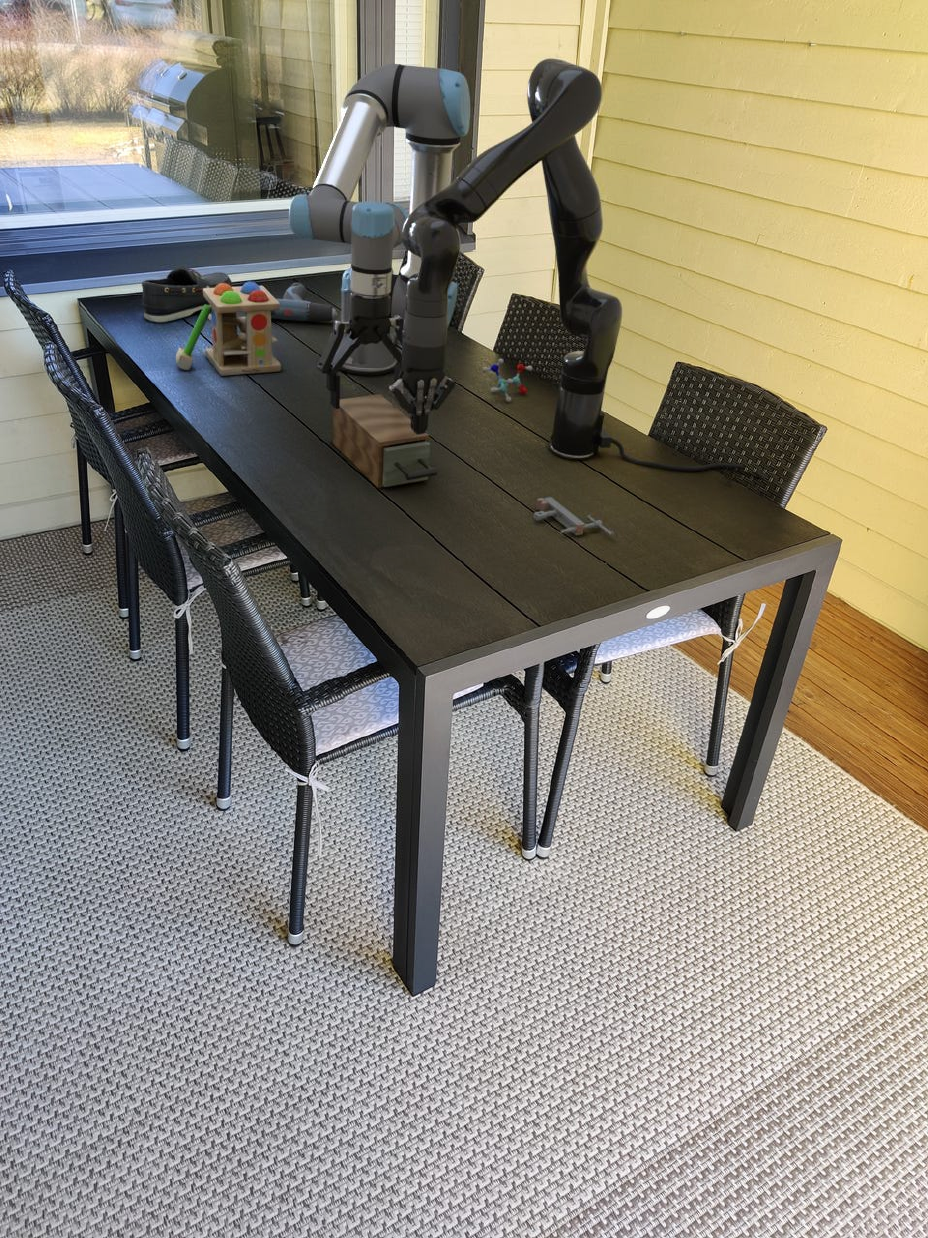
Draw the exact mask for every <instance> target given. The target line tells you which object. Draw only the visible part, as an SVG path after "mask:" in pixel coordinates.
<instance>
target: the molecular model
mask: <svg viewBox="0 0 928 1238" xmlns="http://www.w3.org/2000/svg"><path fill="white" fill-rule="evenodd" d="M502 364H504V359H503V358H499V359H498V360H497V363H496V364H492V365H491V367H487V366H483V367H482V372H484V373H487V372H488V371H491V372H493V373H495V375H496V377H497V379H498V381H497V385H496V386H494V387H491V388H490V390H489V392H490V393H492V394H494V393H498V392H500V393H502V394H504V397H505V401H506V402H507V403H510V402H512V398H511V397H510V396H509V394H508V392H507V391H508V386H509V385H512V384H513V385H514V386H517V388H518V389H519V393H520V394H521V395H522V396H524V395H526V394H527V392H528V390H527V388H526V387H524V386H523V384H522V383H521V378H520V375H521V372H523V371H524V370H527V371H528V372H531V371H533V366H532V365H528V366H525V365H524V364H522V363H519V364H517V367H516V369H517V372H516V376H514V377H513V378H508V379H505V378H502V376H500V373H499V366H500V365H502Z"/></svg>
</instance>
